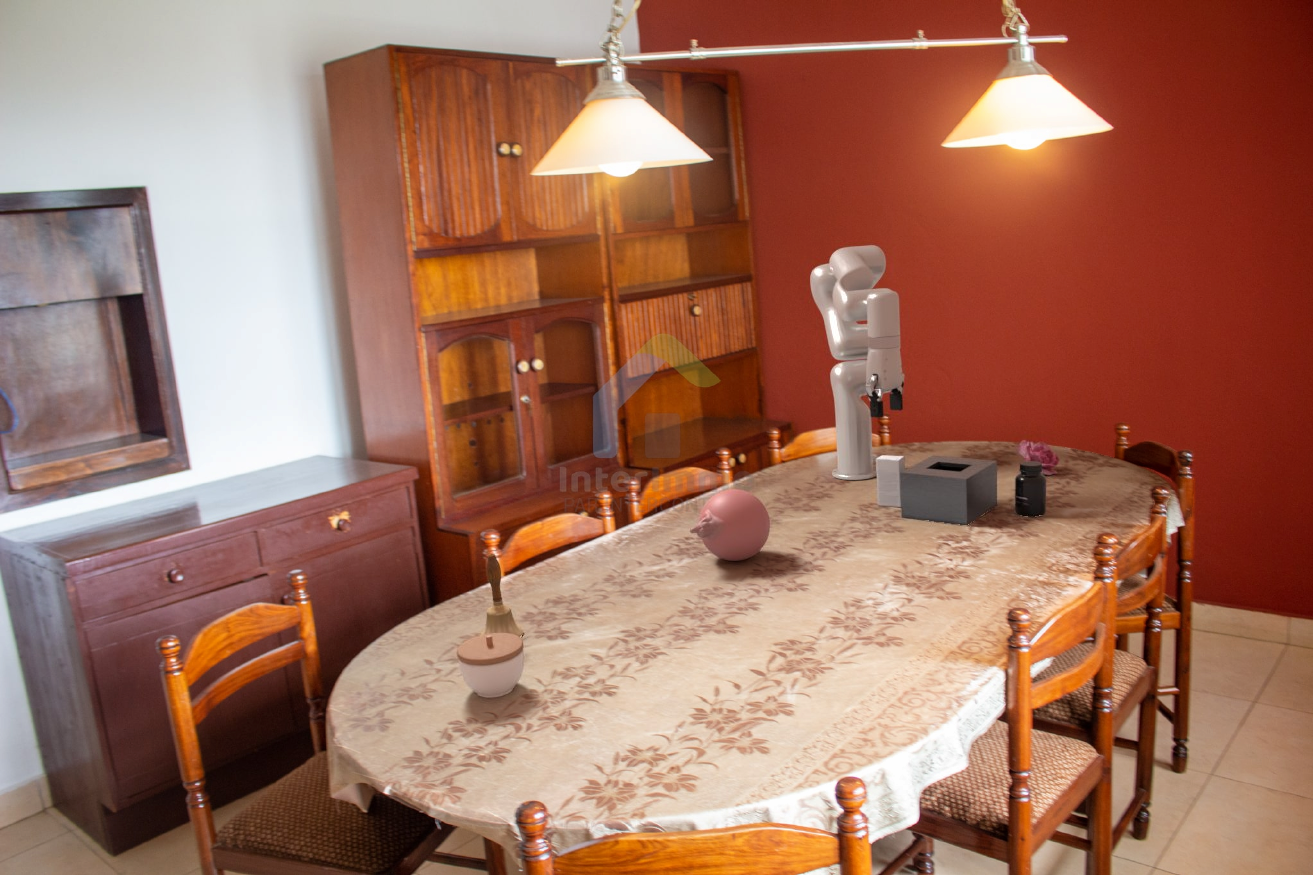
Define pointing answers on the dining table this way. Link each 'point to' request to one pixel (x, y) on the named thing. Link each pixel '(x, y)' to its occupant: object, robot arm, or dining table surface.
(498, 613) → the hand bell
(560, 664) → the dining table surface
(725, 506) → the pink party balloon
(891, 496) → the skincare box
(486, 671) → the lidded jar
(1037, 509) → the supplement bottle
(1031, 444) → the flower
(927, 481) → the slot box
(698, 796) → the dining table surface
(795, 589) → the dining table surface
